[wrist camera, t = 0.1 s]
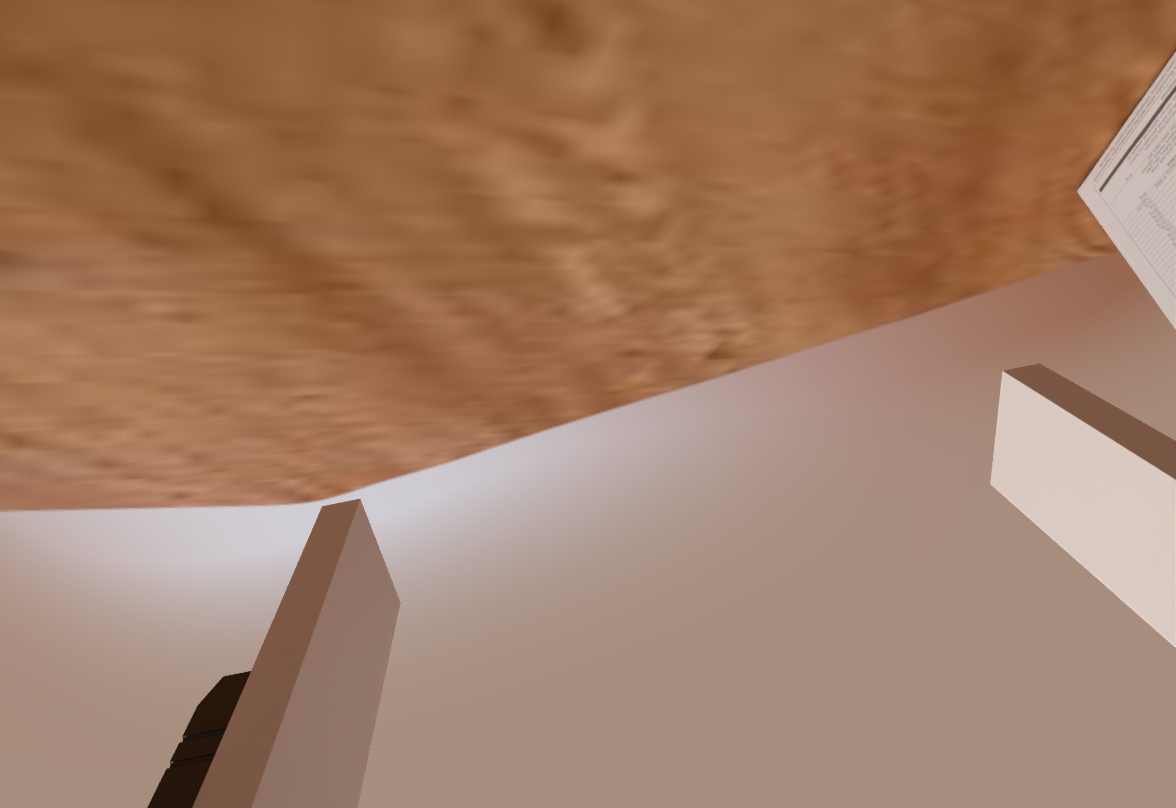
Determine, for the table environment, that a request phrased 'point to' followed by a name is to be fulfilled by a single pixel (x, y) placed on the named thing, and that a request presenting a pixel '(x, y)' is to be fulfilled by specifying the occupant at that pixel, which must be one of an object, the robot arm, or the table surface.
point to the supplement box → (1142, 190)
